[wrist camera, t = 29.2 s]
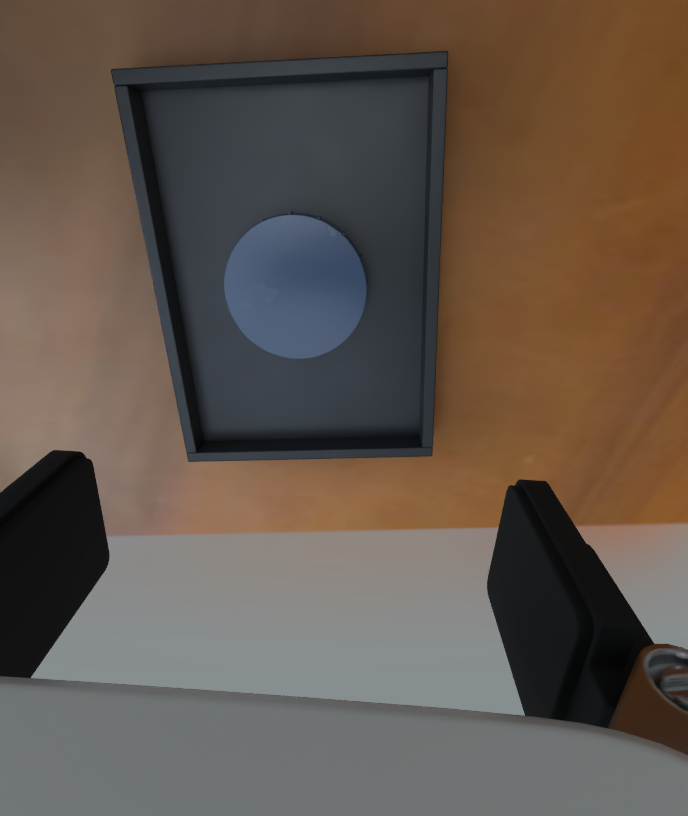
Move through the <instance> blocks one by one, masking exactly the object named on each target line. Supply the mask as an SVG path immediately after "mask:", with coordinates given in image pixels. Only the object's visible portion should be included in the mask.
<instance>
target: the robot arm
mask: <svg viewBox="0 0 688 816" xmlns="http://www.w3.org/2000/svg"><path fill="white" fill-rule="evenodd" d="M108 562H109V549H108V543H107V538H106V532H105V527H104V521H103V516H102V511H101V505H100V500H99V494H98V489H97V483H96V478H95V473H94V467H93V463H92V461H91V460H90V459H86V457H85V455H84V454H83V453H82V452H77V451H61V450H53V451H52V452H50V453H49V454H47V455H46V456H45V457H44V458H42V459H41V460H40V461H39V462H37V463H36V464H35V465H34V466H33V467H31V468H30V469H29V470H28V471H26V472H25V473H24V474H23V475H21V476H20V477H19V478H18V479H17V480H15V481H14V482H13V483H12V484H10V485H9V486H8V487H7V488H5V489H4V490H3V491H2V492H1V493H0V816H688V650H687V649H685V648H682V647H678V646H674V645H669V644H654V643H653V641H652V640H651V638H650V637H649V635H648V633H647V632H646V630H645V629H644V627H643V626H642V624H641V622H640V621H639V619H638V618H637V616H636V615H635V613H634V612H633V610H632V609H631V607H630V605H629V604H628V602H627V601H626V599H625V598H624V596H623V595H622V593H621V591H620V590H619V588H618V587H617V585H616V584H615V582H614V581H613V579H612V578H611V576H610V574H609V573H608V571H607V570H606V568H605V567H604V565H603V563H602V562H601V560H600V559H599V557H598V556H597V554H596V553H595V551H594V550H593V549H592V547H591V546H590V545H588V544H586V543H585V541H584V539H583V538H582V536H581V535H580V533H579V532H578V530H577V528H576V527H575V525H574V524H573V522H572V520H571V519H570V517H569V516H568V514H567V513H566V511H565V509H564V508H563V506H562V505H561V503H560V502H559V500H558V498H557V497H556V495H555V494H554V492H553V491H552V489H551V487H550V486H549V484H548V483H547V482H546V481H534V480H518V481H517V483H516V485H515V486H511V485H510V486H509V487H508V489H507V492H506V497H505V501H504V506H503V510H502V515H501V520H500V524H499V529H498V533H497V538H496V543H495V548H494V552H493V557H492V561H491V566H490V571H489V575H488V581H487V590H488V596H489V599H490V603H491V606H492V609H493V612H494V616H495V618H496V622H497V625H498V629H499V632H500V635H501V638H502V642H503V645H504V648H505V651H506V655H507V658H508V661H509V664H510V668H511V671H512V674H513V678H514V680H515V684H516V687H517V691H518V694H519V697H520V700H521V704H522V707H523V710H524V713H525V716H521V715H511V714H500V713H490V712H480V711H469V710H459V709H448V708H436V707H423V706H411V705H397V704H385V703H372V702H359V701H346V700H333V699H321V698H308V697H294V696H280V695H267V694H253V693H239V692H226V691H225V692H224V691H211V690H197V689H183V688H168V687H155V686H140V685H126V684H111V683H95V682H80V681H65V680H50V679H34V678H31V676H32V675H33V673H34V672H35V671H36V669H37V668H38V666H39V665H40V663H41V662H42V661H43V659H44V658H45V656H46V655H47V653H48V652H49V650H50V649H51V648H52V646H53V645H54V643H55V642H56V640H57V639H58V637H59V636H60V635H61V633H62V632H63V630H64V629H65V627H66V626H67V625H68V623H69V621H70V620H71V619H72V617H73V616H74V615H75V613H76V611H77V610H78V609H79V607H80V606H81V604H82V603H83V602H84V600H85V599H86V597H87V596H88V594H89V593H90V592H91V590H92V589H93V587H94V586H95V584H96V583H97V581H98V580H99V579H100V577H101V576H102V574H103V573H104V571H105V570H106V568H107V565H108Z"/></svg>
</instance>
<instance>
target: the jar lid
mask: <svg viewBox="0 0 688 816" xmlns="http://www.w3.org/2000/svg"><path fill="white" fill-rule="evenodd" d="M321 217H322V216H320V215H319V216H315V215H311V214H306V213H294V212H293V211H291V212H288V213H287V214H282V215H278V216H275V217H272V218H269V219H266V218H265V219H262V220H260V223H258V224H256V225H255V226H253V227H252V228H251V229H249V230H248V231H247V232H246V233H245V234H244V235H243V236H242V237H240V238H239V239H238V240H239V241H238V242H237V243H236V245H235V247H234V248H233V250H232V252H231V254H230V256H229V259H228V261H227V264H226V270H225V277H224V291H225V297H226V302H227V305H228V309H229V311H230V313H231V316H232V318H233V320H234V321H235V323H236V325H237V326H238V327H239V329H240V330H241V331H242V333H243V334H244V335H245V336H246V337H247V338H248V339H249V340H250V341H252V342H253V343H254V344H255V345H257V346H258V347H260V348H261V349H263V350H265V351H267V352H269V353H271V354H274V355H277V356H280V357H284V358H290V359H308V358H313V357H317V356H321V355H324V354H326V353H328V352H330V351H332V350H334V349H335V348H337V347H338V346H340V345H341V344H342V343H343V342H345V341H346V340H347V339H348V337H350V335H351V334H352V333H353V331H354V330H355V329H356V327H357V325H358V323H359V322H360V320H361V317H362V315H364V308H365V304H366V296H367V287H368V281H366V274H365V268H364V265H363V262H362V255H361V254H359V252H358V250H357V248H356V247H355V245H354V244H353V242H352V241H351V240H350V238H349V237H348V236H347V235H346V234H345V233H346V232H345V231H342V230H341V229H340V228H338V227H337V226H336V225H334V224H333V223H331V222H329V221H327V220H325V219H323V218H321Z"/></svg>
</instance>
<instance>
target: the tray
mask: <svg viewBox="0 0 688 816" xmlns="http://www.w3.org/2000/svg"><path fill="white" fill-rule="evenodd" d="M447 67H448V51H438V52H420V53H401V54H383V55H364V56H345V57H327V58H308V59H290V60H271V61H253V62H234V63H216V64H197V65H179V66H160V67H142V68H123V69H112V70H111V73H112V78H113V83H114V85H115V87H114V88H115V93H116V98H117V103H118V108H119V113H120V118H121V123H122V128H123V133H124V139H125V144H126V149H127V154H128V159H129V164H130V169H131V174H132V179H133V184H134V189H135V194H136V199H137V204H138V209H139V214H140V219H141V224H142V229H143V234H144V239H145V245H146V250H147V255H148V260H149V265H150V270H151V275H152V280H153V285H154V290H155V295H156V300H157V305H158V310H159V315H160V320H161V325H162V330H163V335H164V340H165V346H166V351H167V356H168V361H169V366H170V371H171V376H172V381H173V386H174V391H175V396H176V401H177V406H178V411H179V416H180V421H181V426H182V431H183V436H184V441H185V447H186V452H187V457H188V461H189V462H199V461H243V460H288V459H332V458H376V457H421V456H432V446H433V424H434V399H435V374H436V349H437V324H438V299H439V274H440V250H441V225H442V200H443V175H444V150H445V125H446V100H447V76H448V69H447ZM291 211H293V212H294V213H306V214H311V215H315V216H319V215H320V216H322V217H321V218H323V219H325V220H327V221H329V222H331V223H333V224H334V225H336V226H337V227H338V228H340V229H341V230H342V231H345V232H346V233H345V234H346V235H347V236H348V237H349V238H350V240H351V241H352V242H353V244H354V245H355V247H356V248H357V250H358V252H359V254H361V255H362V262H363V265H364V268H365V274H366V281H368V287H367V296H366V304H365V308H364V315H362V317H361V320H360V322H359V323H358V325H357V327H356V329H355V330H354V331H353V333H352V334H351V335H350V337H348V339H347V340H346V341H345V342H343V343H342V344H341V345H340V346H338V347H337V348H335V349H334V350H332V351H330V352H328V353H326V354H324V355H321V356H317V357H313V358H308V359H290V358H284V357H280V356H277V355H274V354H271V353H269V352H267V351H265V350H263V349H261V348H260V347H258V346H257V345H255V344H254V343H253V342H252V341H250V340H249V339H248V338H247V337H246V336H245V335H244V334H243V333H242V331H241V330H240V329H239V327H238V326H237V325H236V323H235V321H234V320H233V318H232V316H231V313H230V311H229V309H228V305H227V302H226V297H225V291H224V277H225V270H226V264H227V261H228V259H229V256H230V254H231V252H232V250H233V248H234V247H235V245H236V243H237V242H238V241H239V240H238V239H239V238H240V237H242V236H243V235H244V234H245V233H246V232H247V231H248V230H249V229H251V228H252V227H253V226H255V225H256V224H258V223H260V220H262V219H265V218H266V219H269V218H272V217H275V216H278V215H282V214H287V213H288V212H291Z"/></svg>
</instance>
